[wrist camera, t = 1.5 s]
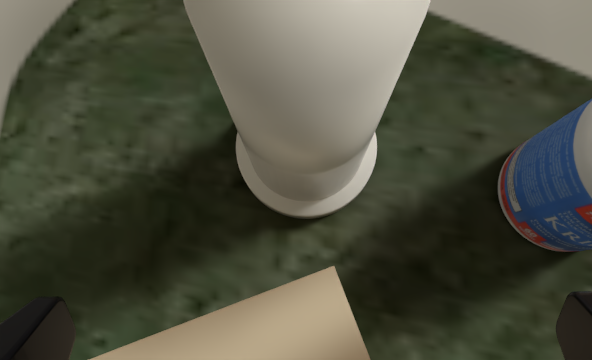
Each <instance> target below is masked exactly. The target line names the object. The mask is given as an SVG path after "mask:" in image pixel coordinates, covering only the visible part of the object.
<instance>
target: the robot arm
mask: <svg viewBox="0 0 592 360" xmlns="http://www.w3.org/2000/svg"><path fill="white" fill-rule="evenodd" d="M556 334H557V338H558V341H559V344H560V347H561V349H562V352H563V355H564V358H565V360H592V292H571V293H570V294H569V295H568V296H567V298H566V300H565V303H564V305H563V308H562V310H561V313H560V315H559V318H558V320H557V323H556ZM75 336H76V330H75V326H74V323H73V320H72V318H71V315H70V313H69V310H68V308H67V305H66V303H65V301H64V300H63V299H62V298H61V297H38V298H35V299H34V300H32V301H31V302H29V303H28V304H27V305H25V306H24V307H23V308H21V309H20V310H19V311H17V312H16V313H14V314H13V315H12V316H10V317H9V318H8V319H6V320H5V321H4V322H2V323H1V324H0V360H69V358H70V355H71V352H72V348H73V345H74V341H75Z"/></svg>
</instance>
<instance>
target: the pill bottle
mask: <svg viewBox="0 0 592 360" xmlns="http://www.w3.org/2000/svg"><path fill="white" fill-rule="evenodd" d="M498 197H499V202H500V205H501V208H502V210H503V213H504V214H505V216H506V218H507V220H508V221H509V223H510V224H511V225H512V226H513V228H514V229H515V230H516V231H517V232H518V233H519V234H520V235H522V236H523V237H524V238H526V239H527V240H528V241H530V242H532V243H534V244H536V245H538V246H540V247H543V248H546V249H550V250H554V251H563V252H574V251H582V250H589V249H592V99H591V100H589V101H587V102H586V103H584V104H583V105H581V106H580V107H578V108H577V109H575V110H574V111H572V112H570V113H569V114H567V115H566V116H564V117H563V118H561V119H560V120H558V121H557V122H555V123H554V124H552V125H551V126H549V127H547V128H546V129H544V130H543V131H541V132H540V133H538V134H536V135H535V136H533V137H532V138H530V139H528V140H527V141H525V142H524V143H523V144H521V145H520V146H519V147H517V148H516V149H515V150H514V151H513V152H512V153H511V154H510V155H509V157H508V158H507V159H506V161H505V162H504V164H503V166H502V169H501V171H500V175H499V179H498Z"/></svg>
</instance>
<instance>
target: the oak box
mask: <svg viewBox="0 0 592 360" xmlns="http://www.w3.org/2000/svg"><path fill="white" fill-rule="evenodd" d="M89 360H370V357H369V355H368V352H367V350H366V347H365V344H364V342H363V339H362V337H361V334H360V332H359V329H358V326H357V324H356V321H355V319H354V316H353V314H352V311H351V308H350V306H349V303H348V301H347V298H346V295H345V293H344V290H343V288H342V285H341V283H340V280H339V277H338V275H337V272H336V270H335V267H334V266H332V267H329V268H327V269H324V270H322V271H319V272H316V273H314V274H311V275H309V276H306V277H303V278H301V279H298V280H295V281H293V282H290V283H288V284H285V285H282V286H280V287H277V288H275V289H272V290H269V291H267V292H264V293H262V294H259V295H256V296H254V297H251V298H248V299H246V300H243V301H241V302H238V303H235V304H233V305H230V306H228V307H225V308H222V309H220V310H217V311H215V312H212V313H209V314H207V315H204V316H201V317H199V318H196V319H194V320H191V321H188V322H186V323H183V324H181V325H178V326H175V327H173V328H170V329H168V330H165V331H162V332H160V333H157V334H155V335H152V336H149V337H147V338H144V339H141V340H139V341H136V342H134V343H131V344H128V345H126V346H123V347H121V348H118V349H115V350H113V351H110V352H108V353H105V354H102V355H100V356H97V357H94V358H92V359H89Z"/></svg>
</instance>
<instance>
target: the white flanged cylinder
mask: <svg viewBox="0 0 592 360" xmlns="http://www.w3.org/2000/svg"><path fill="white" fill-rule="evenodd" d="M183 1H184V5H185V8H186V12H187V14H188V17H189V19H190V21H191V24H192V26H193V28H194V30H195V33H196V35H197V37H198V40H199V42H200V44H201V47H202V49H203V51H204V54H205V56H206V58H207V61H208V63H209V65H210V68H211V70H212V72H213V75H214V77H215V79H216V82H217V84H218V86H219V89H220V91H221V93H222V96H223V98H224V100H225V103H226V105H227V107H228V110H229V112H230V114H231V117H232V119H233V121H234V124H235V126H236V128H237V131H238V133H237V138H236V156H237V162H238V166H239V169H240V172H241V174H242V176H243V178H244V180H245V182H246V184H247V185H248V187H249V189H250V190H251V192H252V193H253V194H254V195H255V197H256V198H257V199H258V200H259V201H261V202H262V203H263V204H264V205H265V206H267V207H268V208H270V209H271V210H273V211H275V212H277V213H279V214H282V215H285V216H288V217H292V218H299V219H314V218H320V217H324V216H328V215H331V214H333V213H335V212H338V211H340V210H341V209H343V208H344V207H346V206H347V205H348V204H350V203H351V202H352V201H353V200H354V199H355V198H356V197H357V196H358V195H359V194H360V192H361V191H362V189H363V188H364V186H365V185H366V183H367V181H368V179H369V177H370V175H371V173H372V171H373V168H374V165H375V160H376V155H377V140H376V134H375V130H376V128H377V126H378V123H379V121H380V119H381V117H382V114H383V112H384V110H385V107H386V105H387V103H388V101H389V98H390V96H391V94H392V91H393V89H394V87H395V84H396V82H397V80H398V78H399V75H400V73H401V71H402V68H403V66H404V64H405V61H406V59H407V57H408V55H409V52H410V50H411V48H412V45H413V43H414V41H415V39H416V36H417V34H418V32H419V29H420V27H421V25H422V22H423V20H424V18H425V16H426V13H427V10H428V7H429V4H430V1H431V0H183Z"/></svg>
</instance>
